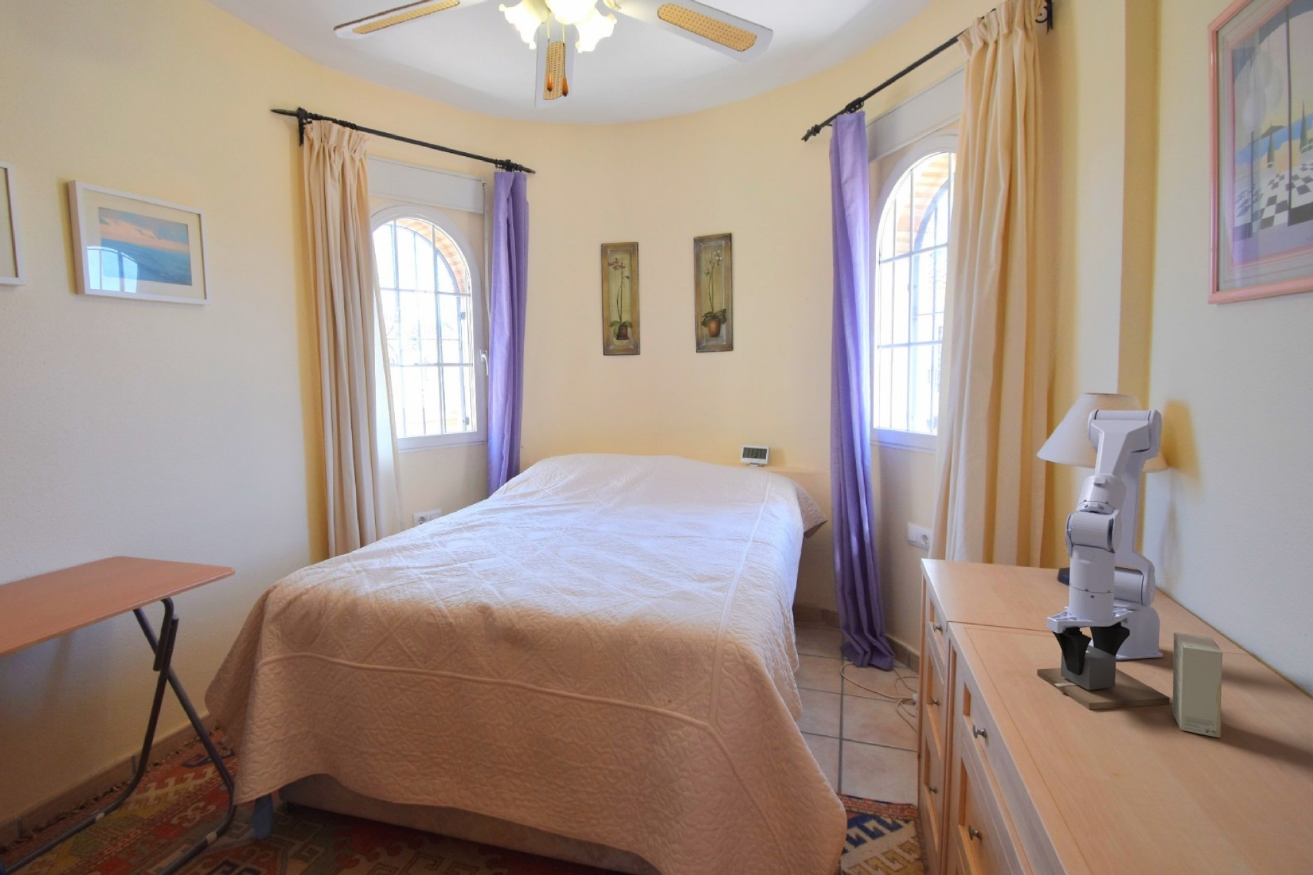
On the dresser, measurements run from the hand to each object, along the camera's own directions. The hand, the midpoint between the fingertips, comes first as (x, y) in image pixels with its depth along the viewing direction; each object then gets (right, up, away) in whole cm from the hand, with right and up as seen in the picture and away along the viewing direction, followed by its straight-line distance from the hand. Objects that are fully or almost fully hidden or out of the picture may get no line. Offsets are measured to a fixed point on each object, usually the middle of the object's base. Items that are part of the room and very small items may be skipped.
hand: (1088, 670), depth 95 cm
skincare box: (+8, -4, -10) cm, 13 cm away
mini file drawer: (0, -2, 0) cm, 2 cm away
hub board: (+2, -3, 0) cm, 4 cm away
